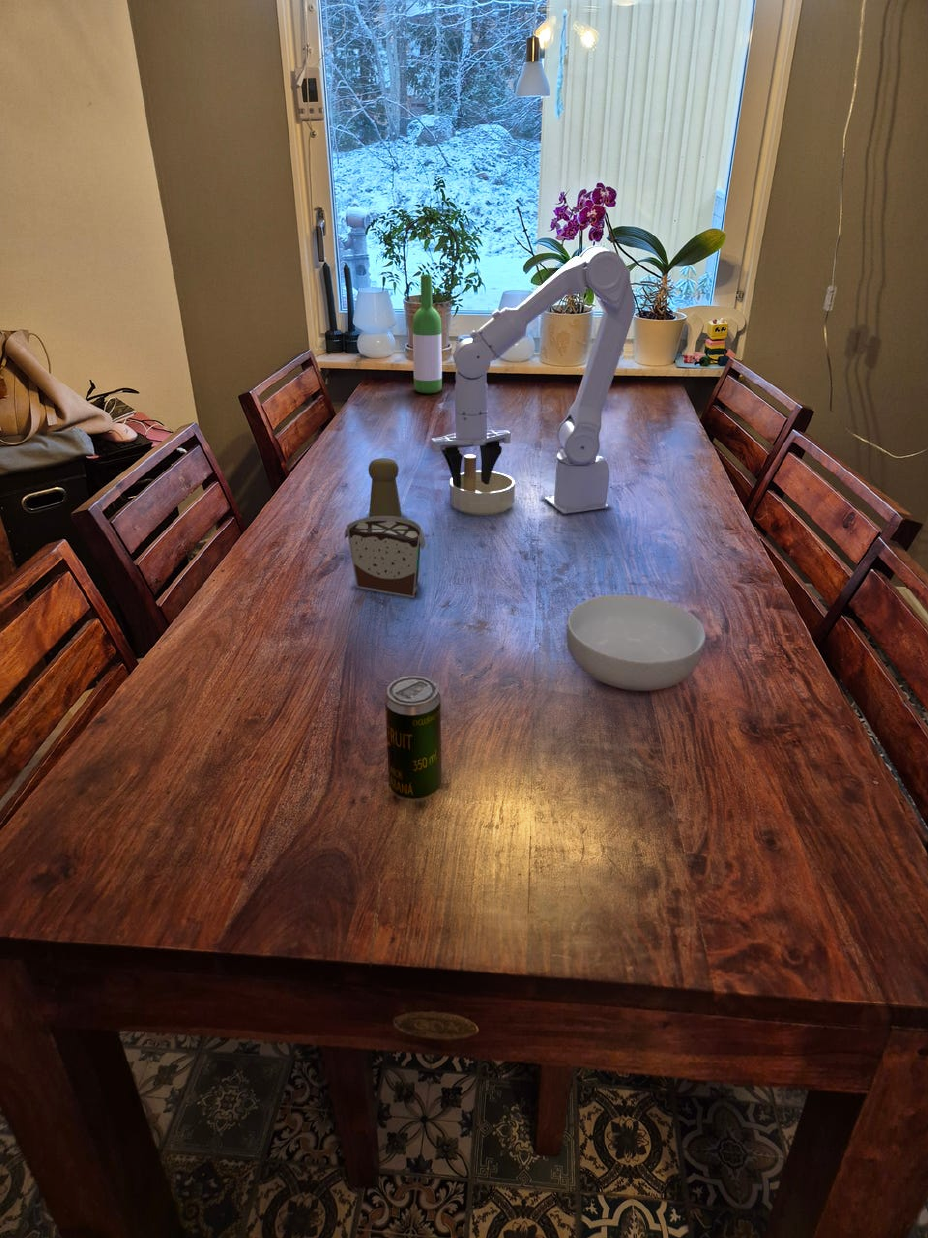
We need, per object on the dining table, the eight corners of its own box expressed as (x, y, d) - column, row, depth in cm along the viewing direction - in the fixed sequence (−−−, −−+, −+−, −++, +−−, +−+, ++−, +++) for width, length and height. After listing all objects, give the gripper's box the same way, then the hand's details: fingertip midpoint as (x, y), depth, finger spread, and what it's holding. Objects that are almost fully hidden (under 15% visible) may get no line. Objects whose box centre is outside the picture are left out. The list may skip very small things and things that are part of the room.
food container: (438, 581, 125) (437, 520, 120) (423, 599, 120) (422, 536, 115) (365, 569, 128) (361, 509, 123) (347, 586, 123) (343, 524, 118)
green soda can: (414, 762, 87) (411, 668, 81) (452, 784, 84) (452, 688, 78) (378, 788, 84) (372, 691, 78) (416, 812, 81) (413, 713, 75)
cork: (397, 527, 143) (395, 466, 138) (364, 524, 144) (361, 464, 139) (406, 514, 148) (404, 455, 143) (374, 511, 149) (371, 453, 144)
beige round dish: (498, 489, 160) (499, 467, 158) (524, 511, 150) (525, 488, 148) (441, 497, 156) (440, 474, 154) (463, 520, 146) (463, 496, 144)
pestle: (475, 497, 154) (476, 451, 150) (483, 505, 151) (484, 458, 147) (455, 500, 153) (455, 453, 149) (463, 507, 150) (463, 460, 145)
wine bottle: (411, 393, 225) (408, 276, 210) (417, 386, 232) (415, 272, 217) (438, 394, 224) (438, 277, 209) (444, 388, 231) (443, 273, 216)
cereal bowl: (670, 729, 93) (679, 677, 89) (540, 684, 100) (543, 635, 97) (715, 661, 105) (724, 614, 102) (596, 627, 113) (601, 581, 110)
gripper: (440, 421, 138) (441, 496, 145) (518, 412, 142) (516, 486, 149) (426, 410, 144) (428, 483, 150) (502, 402, 148) (500, 474, 155)
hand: (471, 484), depth 150 cm, fingers open, 5 cm apart
